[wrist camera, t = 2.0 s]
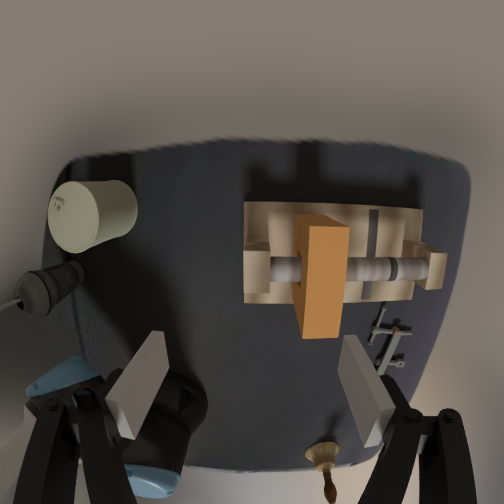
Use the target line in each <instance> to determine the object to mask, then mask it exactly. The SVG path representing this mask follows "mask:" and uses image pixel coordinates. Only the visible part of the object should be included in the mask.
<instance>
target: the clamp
mask: <svg viewBox="0 0 504 504" xmlns="http://www.w3.org/2000/svg"><path fill="white" fill-rule="evenodd" d="M381 308H382V311H381V314H380V316H379V319H378V321H377V324H376V326H372V328H371V332H372V333H373V334H372V337H371V339H370V341H368V344H369V345H372V344H373V343H372V341H373V339H374V337H375V334H379V333H388V334H392V338H391V340H390V343H389V345H388V347H387V350H386V352H385V354H384V356H383V357H380V358H379V359H376V361H375V364H376V365H379V367H378V369H377V370H376V372H377V373H378V375H387V373H386V371H385V370H386V368H387V366H388V365H394V367H403V366H404V364H405V360H404V359H396V360H390V359H391V357H392V355H393V353H394V351H395V349H396V346H397V344H398V342H399V339H400V337H401V335H412V334H413V333H412V332H407V331H402V330H399V328H398V327H396V326H395V327H393V328H392V329H383V328H381V327H379V324H380V322H381V319H382V317H383V314H384V311H385V310H387V308H386V307H381Z"/></svg>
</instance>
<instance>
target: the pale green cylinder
mask: <svg viewBox="0 0 504 504" xmlns="http://www.w3.org/2000/svg"><path fill="white" fill-rule="evenodd" d="M137 214H138V204H137V199H136V196H135V194H134V192H133V191H132V189H131V188H130V187H129V186H128V185H127V184H125V183H124V182H122V181H118V180H110V181H96V182H77V181H70V182H66V183H64V184H62V185H61V186H60V187H58V188H57V190H56V191H55V192H54V194H53V196H52V198H51V200H50V203H49V208H48V224H49V228H50V231H51V234H52V236H53V238H54V240H55V241H56V243H57V244H58V245H59V246H60V247H61V248H62V249H64V250H65V251H67V252H71V253H80V252H83V251H85V250H86V249H88V248H90V247H93V246H95V245H97V244H100V243H102V242H105V241H107V240H110V239H112V238H115V237H120V236H123V235H125V234H126V233H128V232H129V231H130V230H131V228H132V227H133V225H134V224H135V221H136V219H137Z"/></svg>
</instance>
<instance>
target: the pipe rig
mask: <svg viewBox="0 0 504 504" xmlns="http://www.w3.org/2000/svg"><path fill="white" fill-rule="evenodd" d="M295 214H318V215H325V216H328V217H330V218H332V219H334V220H336V221H338V222H340V223H342V224H344V225H346V226H348V227H350V232H349V247H348V259H347V270H346V280H345V290H344V298H343V303H348V302H374V301H394V300H411V299H412V295H413V290H414V284H415V283H417V284H418V285H420V286H421V287H422V288H424V289H425V290H429V289H442V284H443V279H444V273H445V267H446V261H447V254H448V253H446V252H444V251H441V250H439V249H437V248H434V247H432V246H429V245H427V244H425V243H422V242H420V241H421V231H422V219H423V210H422V209H413V208H401V207H387V206H372V205H355V204H335V203H308V202H244V303H293V299H292V286H293V282H301V271H302V257H294V236H295Z"/></svg>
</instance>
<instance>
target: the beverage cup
mask: <svg viewBox="0 0 504 504" xmlns="http://www.w3.org/2000/svg"><path fill="white" fill-rule="evenodd" d="M83 280H84V270H83V268H82V266H81V265H80V264H79V263H78V262H77V261H70V262H64V263H61V264H58V265H55V266H52V267H48V268H45V269H42V270H36V271H28V272H27V273H25V274H24V275H23V276H22V277H21V278H20V279H19V280H18V282H17V284H16V286H15V289H14V300H13V301H11V302H8V303H6V304H4V305H1V306H0V310H2V309H4V308H6V307H9V306H11V305H13V304H16V306H17V308H18V309H19V311H20V312H21V313H22V314H24V315H25V316H27V317H29V318H40V317H43V316H46V315H48V314H49V313H50V311H51V310H52V309H53V308H54V306H55V305H56V304H57V303H59V302H60V301H61V300H62V299H63V298H64V297H66V296H67V295H68V294H69V293H70V292H72V291H73V290H74V289H75V288H77V287H78V285H79V284H81V283H82V282H83Z"/></svg>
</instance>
